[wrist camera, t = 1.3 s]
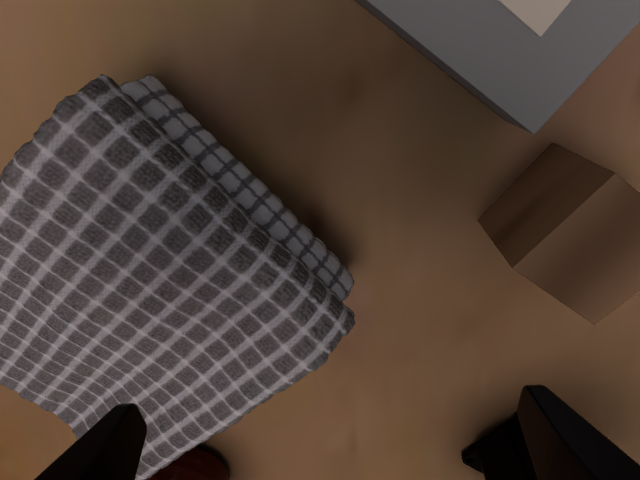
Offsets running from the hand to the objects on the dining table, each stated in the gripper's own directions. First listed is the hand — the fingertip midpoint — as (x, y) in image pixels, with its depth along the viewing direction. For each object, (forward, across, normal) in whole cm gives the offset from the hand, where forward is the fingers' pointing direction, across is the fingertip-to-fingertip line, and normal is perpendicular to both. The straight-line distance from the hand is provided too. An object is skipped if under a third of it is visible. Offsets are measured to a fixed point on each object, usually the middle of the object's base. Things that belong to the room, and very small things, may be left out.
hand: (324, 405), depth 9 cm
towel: (+14, +10, +5) cm, 18 cm away
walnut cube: (+13, -11, +2) cm, 17 cm away
